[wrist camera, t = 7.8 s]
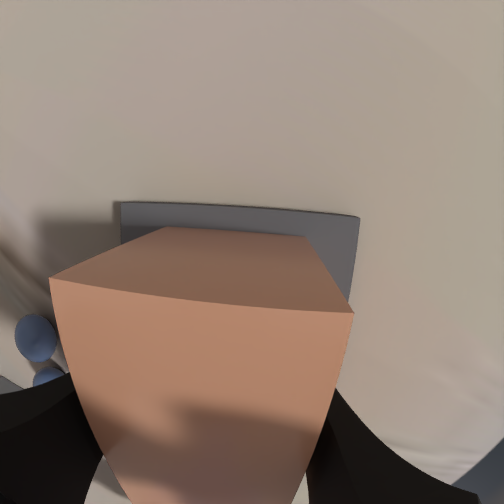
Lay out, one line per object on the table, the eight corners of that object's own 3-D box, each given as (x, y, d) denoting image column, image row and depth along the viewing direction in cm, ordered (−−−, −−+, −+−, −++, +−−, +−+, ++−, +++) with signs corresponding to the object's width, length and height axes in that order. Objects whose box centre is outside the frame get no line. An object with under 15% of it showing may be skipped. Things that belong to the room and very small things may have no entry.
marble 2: (83, 398, 15) (63, 423, 12) (54, 386, 15) (34, 407, 13) (73, 365, 15) (48, 390, 12) (43, 354, 15) (19, 375, 12)
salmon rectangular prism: (278, 421, 13) (276, 532, 6) (177, 408, 14) (135, 508, 7) (305, 236, 11) (353, 313, 4) (166, 226, 11) (48, 277, 4)
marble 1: (69, 353, 14) (43, 377, 11) (40, 342, 15) (14, 362, 12) (60, 311, 14) (29, 332, 11) (30, 303, 14) (1, 320, 11)
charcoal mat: (312, 424, 14) (314, 433, 13) (148, 404, 15) (143, 412, 14) (354, 216, 11) (360, 218, 11) (129, 201, 12) (120, 202, 11)
